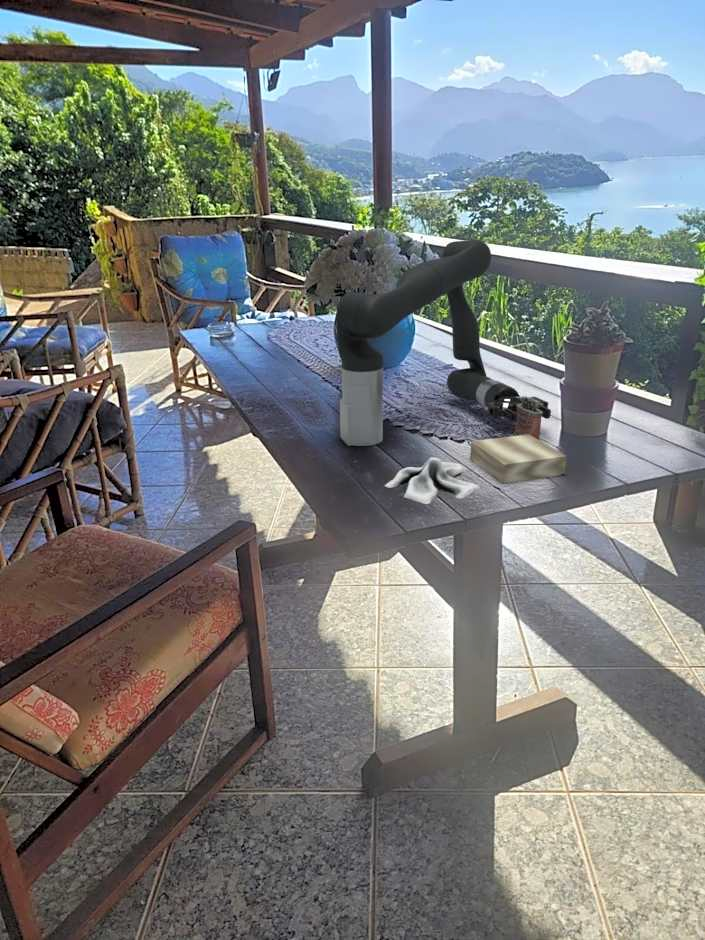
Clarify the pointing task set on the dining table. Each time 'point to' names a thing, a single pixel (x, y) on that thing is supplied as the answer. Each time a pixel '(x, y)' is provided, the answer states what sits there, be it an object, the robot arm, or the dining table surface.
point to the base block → (517, 458)
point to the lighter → (528, 417)
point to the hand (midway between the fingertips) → (532, 416)
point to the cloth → (432, 481)
